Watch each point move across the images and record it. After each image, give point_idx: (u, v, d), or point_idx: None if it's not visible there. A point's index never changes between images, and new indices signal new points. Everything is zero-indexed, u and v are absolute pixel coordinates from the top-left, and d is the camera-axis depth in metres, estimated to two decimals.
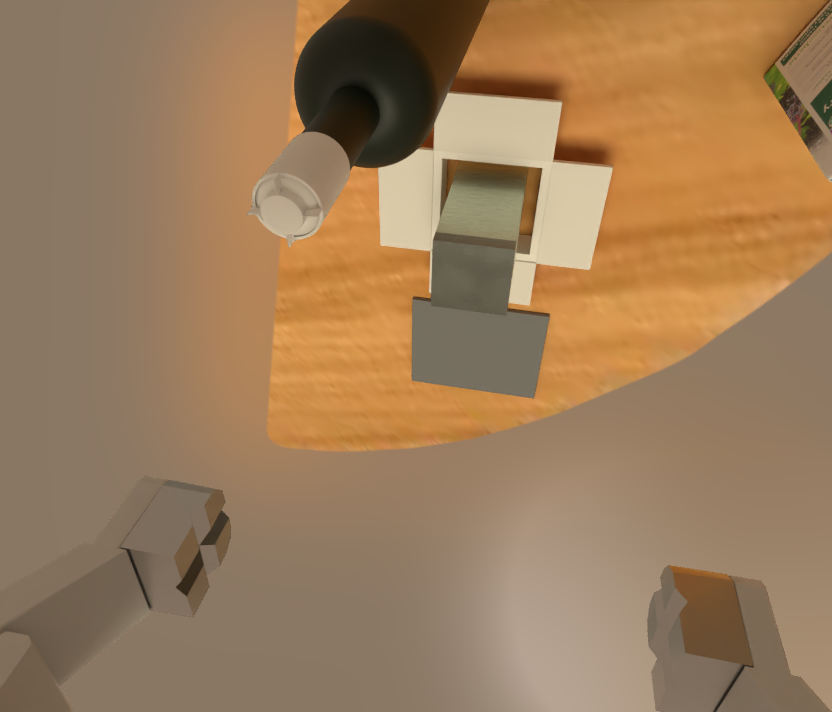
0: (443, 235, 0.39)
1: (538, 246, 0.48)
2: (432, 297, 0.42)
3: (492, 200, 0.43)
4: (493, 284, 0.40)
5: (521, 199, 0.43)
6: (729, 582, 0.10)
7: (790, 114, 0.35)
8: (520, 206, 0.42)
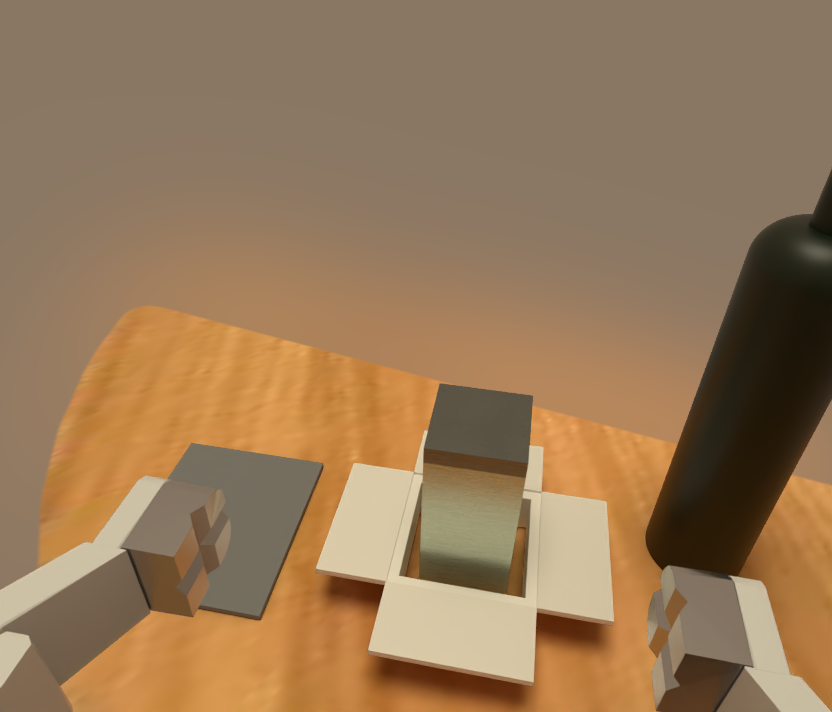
0: None
1: (410, 588, 0.35)
2: (452, 386, 0.35)
3: None
4: (474, 439, 0.31)
5: (513, 545, 0.34)
6: (729, 582, 0.10)
7: None
8: None
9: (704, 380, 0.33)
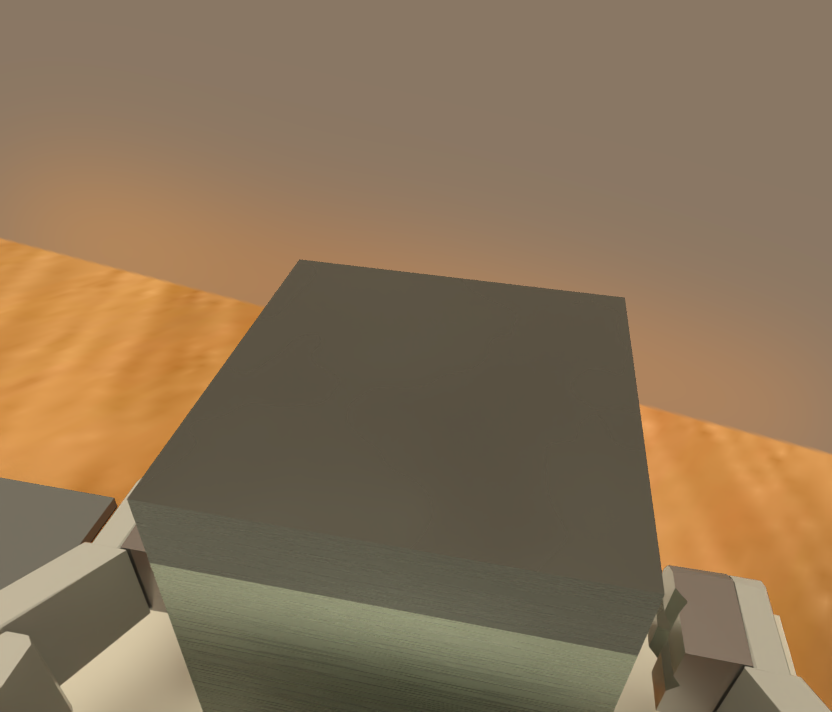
0: None
1: None
2: (341, 267, 0.10)
3: None
4: (387, 458, 0.07)
5: None
6: (729, 582, 0.10)
7: None
8: None
9: None
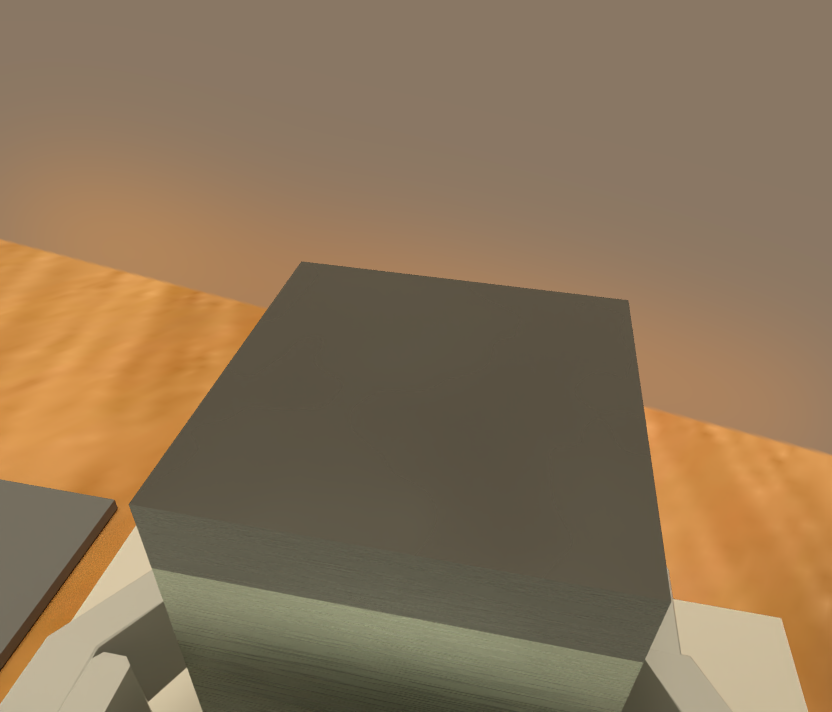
0: None
1: None
2: (343, 269, 0.10)
3: None
4: (390, 462, 0.07)
5: None
6: None
7: None
8: None
9: None
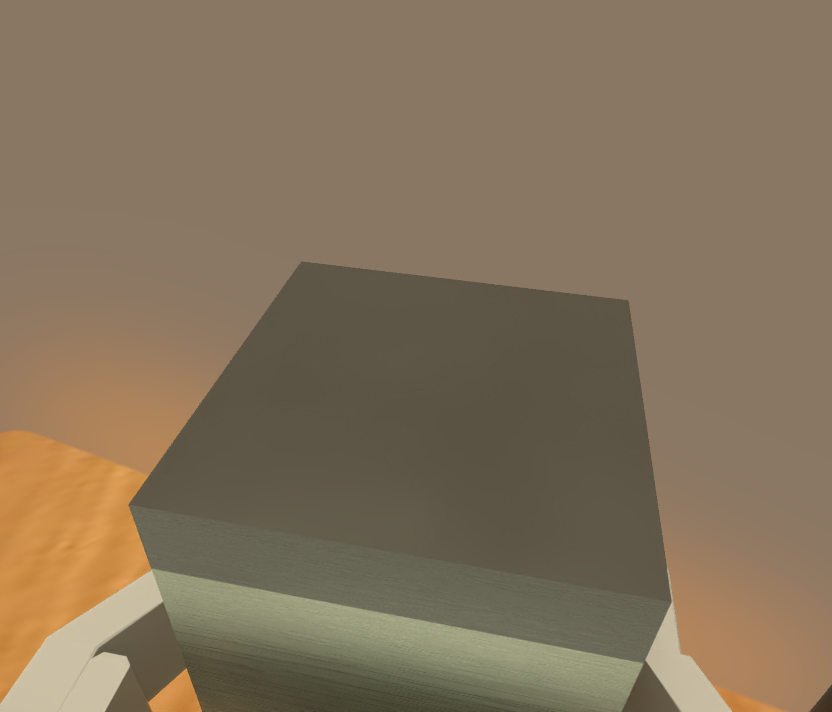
0: None
1: None
2: (343, 269, 0.10)
3: None
4: (390, 463, 0.07)
5: None
6: None
7: None
8: None
9: None
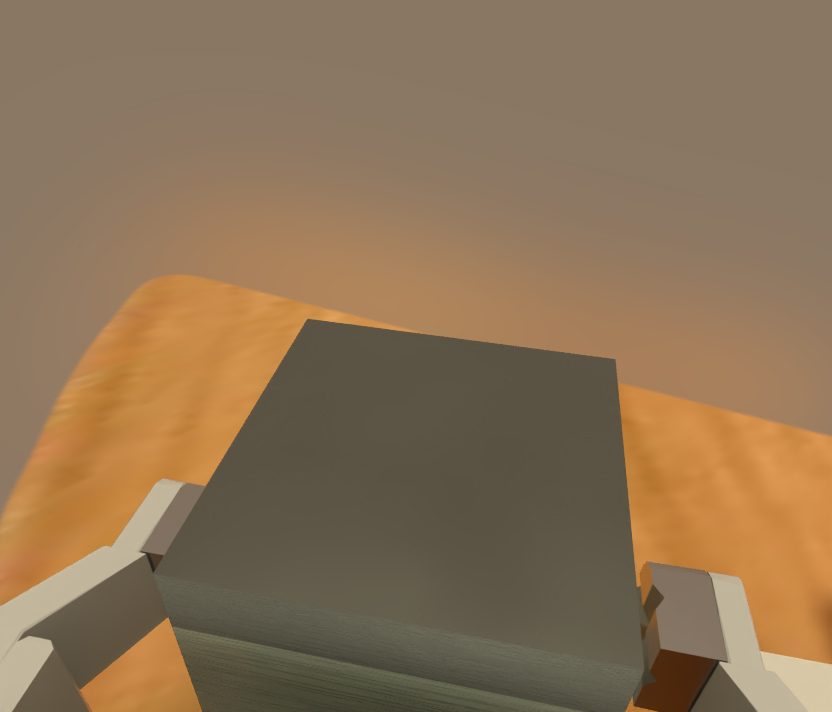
0: None
1: None
2: (347, 327, 0.11)
3: None
4: (391, 530, 0.07)
5: None
6: (707, 578, 0.10)
7: None
8: None
9: None
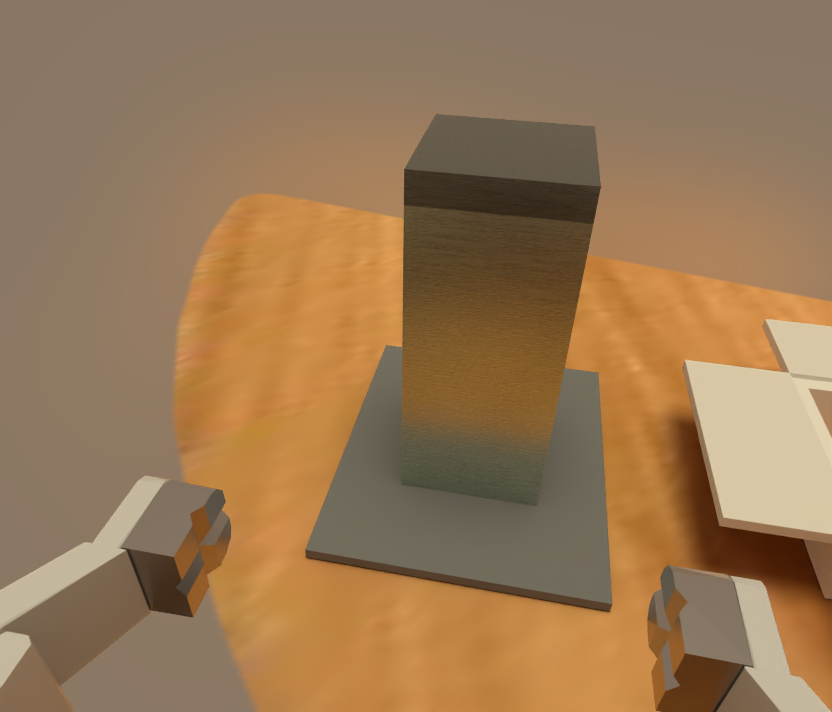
0: None
1: None
2: (457, 116, 0.21)
3: None
4: (497, 162, 0.17)
5: (560, 381, 0.20)
6: (729, 582, 0.10)
7: None
8: None
9: None
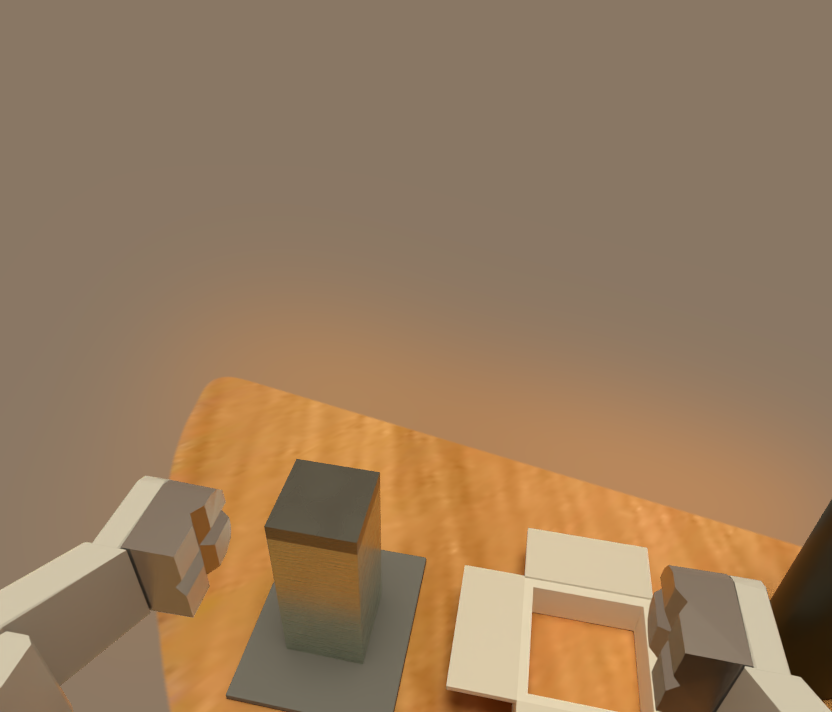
0: (377, 487, 0.37)
1: (540, 707, 0.36)
2: (307, 462, 0.37)
3: (368, 577, 0.38)
4: (313, 518, 0.34)
5: (360, 610, 0.37)
6: (729, 582, 0.10)
7: None
8: (360, 600, 0.36)
9: None
